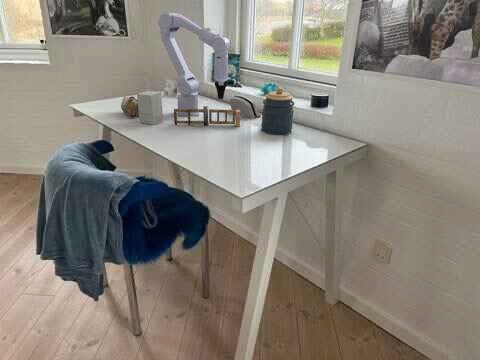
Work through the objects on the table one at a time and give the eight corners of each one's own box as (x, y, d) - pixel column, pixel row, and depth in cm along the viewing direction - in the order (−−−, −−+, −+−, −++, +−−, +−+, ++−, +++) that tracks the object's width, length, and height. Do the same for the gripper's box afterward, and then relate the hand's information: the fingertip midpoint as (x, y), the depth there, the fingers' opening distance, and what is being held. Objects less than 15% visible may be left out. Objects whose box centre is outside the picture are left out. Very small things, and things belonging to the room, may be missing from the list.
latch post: (236, 126, 151) (236, 111, 149) (235, 124, 155) (235, 109, 152) (239, 126, 151) (240, 111, 149) (239, 124, 155) (239, 109, 152)
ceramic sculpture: (134, 91, 168) (152, 98, 159) (135, 109, 172) (153, 117, 163) (113, 94, 161) (131, 102, 152) (115, 113, 165) (133, 122, 156)
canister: (255, 127, 152) (257, 85, 144) (282, 124, 157) (285, 83, 149) (269, 136, 141) (273, 91, 134) (297, 133, 146) (302, 90, 138)
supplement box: (163, 121, 155) (161, 92, 150) (153, 125, 149) (150, 95, 144) (150, 118, 158) (147, 90, 153) (139, 123, 152) (136, 93, 147)
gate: (209, 123, 151) (209, 110, 149) (209, 123, 152) (209, 109, 150) (234, 124, 152) (235, 110, 149) (234, 123, 153) (235, 109, 150)
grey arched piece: (261, 117, 166) (256, 97, 160) (253, 122, 164) (249, 102, 158) (239, 109, 178) (234, 91, 172) (232, 113, 176) (227, 95, 170)
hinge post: (203, 125, 151) (203, 107, 148) (203, 124, 153) (203, 106, 149) (208, 126, 151) (208, 107, 148) (208, 124, 153) (208, 106, 149)
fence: (174, 125, 150) (173, 109, 147) (174, 124, 152) (174, 108, 149) (204, 125, 151) (203, 109, 148) (204, 124, 152) (203, 109, 150)
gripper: (231, 70, 147) (230, 102, 153) (229, 64, 160) (229, 95, 166) (213, 69, 146) (213, 102, 152) (214, 64, 159) (213, 94, 165)
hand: (220, 98), depth 159 cm, fingers closed
